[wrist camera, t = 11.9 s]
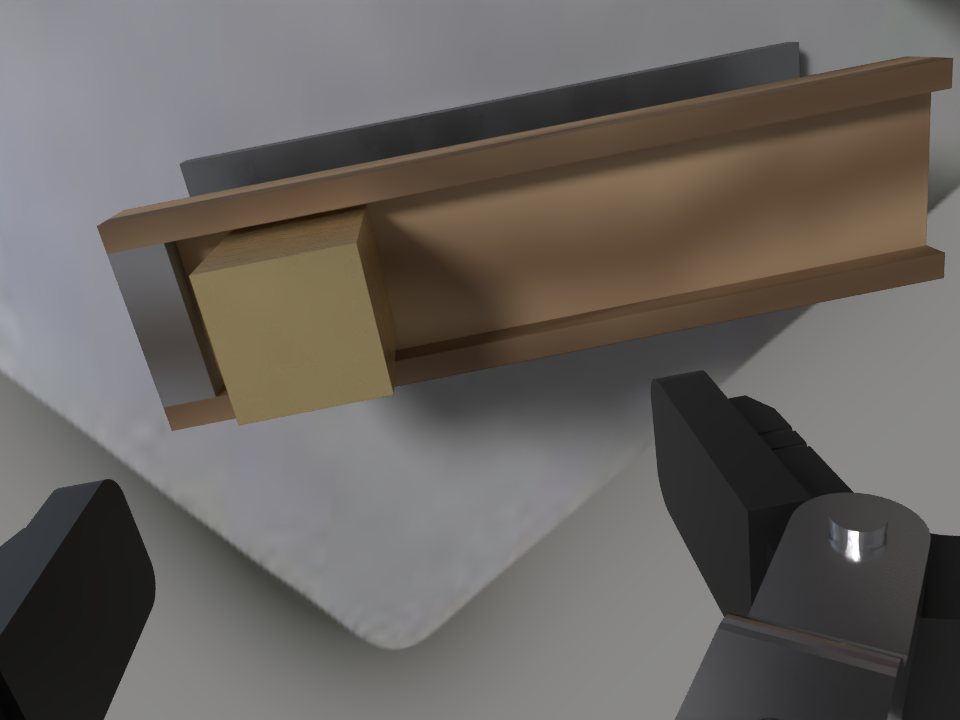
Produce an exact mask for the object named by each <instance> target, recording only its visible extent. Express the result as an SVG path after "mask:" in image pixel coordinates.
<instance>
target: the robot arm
mask: <svg viewBox="0 0 960 720" xmlns="http://www.w3.org/2000/svg"><path fill="white" fill-rule="evenodd" d="M651 401H652V412H653V424H654V435H655V446H656V458H657V469H658V476H659V482H660V487H661V491H662V495H663V498H664V501H665V504H666V507H667V509H668V511H669V514H670V516H671V517H672V519H673V521H674V523H675V525H676V527H677V529H678V531H679V532H680V534H681V536H682V538H683V540H684V542H685V544H686V546H687V548H688V550H689V551H690V553H691V555H692V557H693V559H694V561H695V562H696V565H697V566H698V568H699V570H700V572H701V574H702V576H703V578H704V580H705V582H706V583H707V585H708V587H709V589H710V591H711V593H712V595H713V597H714V598H715V600H716V602H717V604H718V606H719V608H720V610H721V612H722V613H723V616H724V618H723V620H722V621H721V623H720V625H719V627H718V629H717V631H716V633H715V635H714V638H713V639H712V641H711V644H710V646H709V648H708V650H707V652H706V654H705V656H704V659H703V661H702V663H701V665H700V667H699V669H698V671H697V673H696V676H695V678H694V680H693V682H692V684H691V686H690V688H689V691H688V693H687V695H686V697H685V699H684V701H683V703H682V705H681V708H680V710H679V712H678V714H677V716H676V718H675V720H960V536H948V535H938V534H931V533H930V532H929V528H928V527H927V525H926V524H925V522H924V521H923V520H922V519H921V518H920V517H919V516H918V515H917V514H916V513H914V512H913V511H912V510H910V509H909V508H907V507H905V506H903V505H902V504H899V503H897V502H895V501H892V500H889V499H886V498H883V497H879V496H874V495H870V494H862V493H854V492H853V491H852V490H851V489H850V488H849V487H848V486H847V485H846V484H845V483H844V482H843V481H842V480H841V479H840V478H839V477H838V475H837V474H836V473H835V472H834V471H833V470H832V469H831V468H830V467H829V466H828V465H827V464H826V463H825V462H824V461H823V460H822V459H821V458H820V456H819V455H818V454H817V453H816V452H815V451H814V450H813V449H812V448H811V447H810V446H808V447H807V445H806V442H805V441H804V440H803V438H801V436H800V435H799V434H798V433H797V432H796V431H792V427H791V426H790V425H789V424H788V423H787V421H786V420H785V419H784V418H783V417H782V416H781V415H780V414H779V413H778V412H777V411H776V410H775V409H774V408H772V407H770V406H768V405H765V404H763V403H761V402H759V401H756V400H754V399H752V398H750V397H748V396H740V397H734V398H729V399H728V398H727V397H726V396H725V395H724V393H723V392H722V391H721V390H720V389H719V388H718V386H717V385H716V384H715V383H714V382H713V380H712V379H711V378H710V377H709V376H708V375H707V373H706V372H705V371H703V370H701V371H695V372H690V373H685V374H679V375H674V376H668V377H663V378H658V379H653V381H652V384H651ZM155 589H156V588H155V575H154V571H153V566H152V563H151V560H150V558H149V556H148V553H147V551H146V548H145V546H144V543H143V541H142V538H141V536H140V533H139V531H138V528H137V526H136V523H135V521H134V518H133V516H132V514H131V511H130V508H129V506H128V504H127V501H126V499H125V496H124V494H123V492H122V490H121V488H120V487H119V485H118V484H117V483H116V482H115V481H113V480H111V479H106V480H101V481H95V482H90V483H85V484H79V485H74V486H68V487H63V488H58V489H56V490H54V491H53V493H52V494H51V495H50V497H49V498H48V499H47V500H46V502H45V503H44V504H43V506H42V507H41V508H40V510H39V511H38V512H37V514H36V515H35V516H34V518H33V519H32V520H31V522H30V523H29V524H28V525H27V527H26V528H24V529H22V530H21V531H19V532H18V533H17V534H16V535H14V536H13V537H12V538H11V539H9V540H8V541H7V542H5V543H4V544H3V545H2V546H0V720H104V718H105V715H106V713H107V711H108V708H109V706H110V704H111V702H112V699H113V697H114V694H115V692H116V690H117V688H118V685H119V683H120V681H121V678H122V676H123V674H124V672H125V669H126V667H127V665H128V662H129V660H130V658H131V656H132V653H133V651H134V649H135V646H136V644H137V642H138V640H139V637H140V635H141V633H142V630H143V628H144V626H145V623H146V621H147V619H148V617H149V614H150V612H151V610H152V607H153V603H154V600H155Z"/></svg>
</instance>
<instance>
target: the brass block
mask: <svg viewBox="0 0 960 720" xmlns="http://www.w3.org/2000/svg"><path fill="white" fill-rule="evenodd" d="M189 278H190V281H191V284H192V287H193V290H194V293H195V296H196V299H197V302H198V305H199V308H200V311H201V314H202V317H203V320H204V323H205V326H206V329H207V332H208V335H209V338H210V341H211V344H212V347H213V350H214V353H215V356H216V359H217V362H218V365H219V368H220V371H221V374H222V377H223V380H224V383H225V386H226V389H227V392H228V395H229V398H230V401H231V404H232V407H233V410H234V413H235V416H236V419H237V422H238V425H244V424H249V423H254V422H259V421H264V420H269V419H274V418H279V417H284V416H289V415H294V414H299V413H304V412H309V411H314V410H319V409H324V408H329V407H334V406H339V405H344V404H349V403H354V402H359V401H364V400H369V399H374V398H379V397H384V396H389V395H394V376H395V356H396V335H397V330H396V326H395V322H394V318H393V313H392V309H391V305H390V301H389V296H388V292H387V288H386V284H385V280H384V275H383V271H382V267H381V263H380V258H379V254H378V250H377V246H376V241H375V237H374V233H373V229H372V224H371V220H370V216H369V212H368V208H367V204H365V205H360V206H354V207H349V208H344V209H339V210H334V211H329V212H324V213H319V214H314V215H309V216H304V217H299V218H294V219H289V220H284V221H279V222H274V223H269V224H264V225H259V226H253V227H248V228H243V229H238V230H233V231H231V232H230V233H229V234H228V235H227V236H226V237H225V238H224V239H223V240H222V241H221V242H220V243H219V244H218V246H217V247H216V248H215V249H214V250H213V251H212V252H211V253H210V254H209V255H208V256H207V257H206V258H205V259H204V260H203V261H202V263H201V264H200V265H199V266H198V267H197V268H196V269H195V270H194V271H193V272H192V273H191V274H190V275H189Z"/></svg>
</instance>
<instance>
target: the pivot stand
mask: <svg viewBox="0 0 960 720" xmlns="http://www.w3.org/2000/svg"><path fill="white" fill-rule="evenodd" d="M795 78H800V64H799V42H786V43H781V44H776V45H770V46H765V47H760V48H755V49H750V50H745V51H740V52H735V53H730V54H725V55H720V56H715V57H709V58H704V59H699V60H694V61H689V62H684V63H679V64H674V65H669V66H664V67H659V68H654V69H649V70H643V71H638V72H633V73H628V74H623V75H618V76H613V77H608V78H603V79H598V80H593V81H588V82H582V83H577V84H572V85H567V86H562V87H557V88H552V89H547V90H542V91H537V92H532V93H527V94H521V95H516V96H511V97H506V98H501V99H496V100H491V101H486V102H481V103H476V104H471V105H466V106H461V107H455V108H450V109H445V110H440V111H435V112H430V113H425V114H420V115H415V116H410V117H405V118H400V119H394V120H389V121H384V122H379V123H374V124H369V125H364V126H359V127H354V128H349V129H344V130H339V131H334V132H328V133H323V134H318V135H313V136H308V137H303V138H298V139H293V140H288V141H283V142H278V143H273V144H267V145H262V146H257V147H252V148H247V149H242V150H237V151H232V152H227V153H222V154H217V155H212V156H206V157H201V158H196V159H191V160H186V161H184V162H182V163H181V164H180V167H181V170H182V173H183V176H184V180H185V183H186V186H187V189H188V192H189V195H190V197H194V196H199V195H204V194H209V193H214V192H219V191H224V190H229V189H234V188H240V187H245V186H250V185H255V184H260V183H265V182H270V181H275V180H280V179H285V178H290V177H296V176H301V175H306V174H311V173H316V172H321V171H326V170H331V169H336V168H341V167H346V166H352V165H357V164H362V163H367V162H372V161H377V160H382V159H387V158H392V157H397V156H402V155H408V154H413V153H418V152H423V151H428V150H433V149H438V148H443V147H448V146H453V145H458V144H464V143H469V142H474V141H479V140H484V139H489V138H494V137H499V136H504V135H509V134H514V133H520V132H525V131H530V130H535V129H540V128H545V127H550V126H555V125H560V124H565V123H570V122H576V121H581V120H586V119H591V118H596V117H601V116H606V115H611V114H616V113H621V112H626V111H632V110H637V109H642V108H647V107H652V106H657V105H662V104H667V103H672V102H677V101H682V100H688V99H693V98H698V97H703V96H708V95H713V94H718V93H723V92H728V91H733V90H739V89H744V88H749V87H754V86H759V85H764V84H769V83H774V82H779V81H784V80H789V79H795Z"/></svg>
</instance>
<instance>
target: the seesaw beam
mask: <svg viewBox="0 0 960 720" xmlns="http://www.w3.org/2000/svg"><path fill="white" fill-rule="evenodd" d="M952 69H953V58H937V57H908V56H907V57H901V58H896V59H891V60H886V61H881V62H876V63H871V64H866V65H861V66H856V67H851V68H845V69H840V70H835V71H830V72H825V73H820V74H815V75H810V76H805V77H800V78H795V79H789V80H784V81H779V82H774V83H769V84H764V85H759V86H754V87H749V88H744V89H739V90H733V91H728V92H723V93H718V94H713V95H708V96H703V97H698V98H693V99H688V100H682V101H677V102H672V103H667V104H662V105H657V106H652V107H647V108H642V109H637V110H632V111H626V112H621V113H616V114H611V115H606V116H601V117H596V118H591V119H586V120H581V121H576V122H570V123H565V124H560V125H555V126H550V127H545V128H540V129H535V130H530V131H525V132H520V133H514V134H509V135H504V136H499V137H494V138H489V139H484V140H479V141H474V142H469V143H464V144H458V145H453V146H448V147H443V148H438V149H433V150H428V151H423V152H418V153H413V154H408V155H402V156H397V157H392V158H387V159H382V160H377V161H372V162H367V163H362V164H357V165H352V166H346V167H341V168H336V169H331V170H326V171H321V172H316V173H311V174H306V175H301V176H296V177H290V178H285V179H280V180H275V181H270V182H265V183H260V184H255V185H250V186H245V187H240V188H234V189H229V190H224V191H219V192H214V193H209V194H204V195H199V196H194V197H189V198H184V199H178V200H173V201H168V202H163V203H158V204H153V205H148V206H143V207H138V208H133V209H128V210H123V211H122V212H120V213H118V214H117V215H115V216H113V217H112V218H110V219H108V220H107V221H105V222H103V223H102V224H100V225H98V226H97V228H98V231H99V233H100V236H101V239H102V242H103V244H104V247H105V250H106V252H107V255H108V258H109V261H110V263H111V266H112V269H113V271H114V274H115V277H116V280H117V282H118V285H119V288H120V290H121V293H122V296H123V299H124V301H125V304H126V307H127V310H128V312H129V315H130V318H131V320H132V323H133V326H134V329H135V331H136V334H137V337H138V339H139V342H140V345H141V348H142V350H143V353H144V356H145V359H146V361H147V364H148V367H149V369H150V372H151V375H152V378H153V380H154V383H155V386H156V388H157V391H158V394H159V397H160V399H161V402H162V405H163V407H164V410H165V413H166V416H167V418H168V421H169V424H170V427H171V429H172V431H174V430H179V429H184V428H189V427H194V426H199V425H204V424H209V423H214V422H219V421H224V420H230V419H235V418H236V416H235V413H234V410H233V407H232V404H231V401H230V398H229V395H228V392H227V389H226V386H225V383H224V380H223V377H222V374H221V371H220V368H219V365H218V362H217V359H216V356H215V353H214V350H213V347H212V344H211V341H210V338H209V335H208V332H207V329H206V326H205V323H204V320H203V317H202V314H201V311H200V308H199V305H198V302H197V299H196V296H195V293H194V290H193V287H192V284H191V281H190V278H189V275H190V274H191V273H192V272H193V271H194V270H195V269H196V268H197V267H198V266H199V265H200V264H201V263H202V261H203V260H204V259H205V258H206V257H207V256H208V255H209V254H210V253H211V252H212V251H213V250H214V249H215V248H216V247H217V246H218V244H219V243H220V242H221V241H222V240H223V239H224V238H225V237H226V236H227V235H228V234H229V233H230V232H231V231H233V230H238V229H243V228H248V227H253V226H259V225H264V224H269V223H274V222H279V221H284V220H289V219H294V218H299V217H304V216H309V215H314V214H319V213H324V212H329V211H334V210H339V209H344V208H349V207H354V206H360V205H365V204H367V208H368V212H369V216H370V220H371V224H372V229H373V233H374V237H375V241H376V246H377V250H378V254H379V258H380V263H381V267H382V271H383V275H384V280H385V284H386V288H387V292H388V296H389V301H390V305H391V309H392V313H393V318H394V322H395V326H396V330H397V335H396V356H395V376H394V387H396V386H401V385H406V384H411V383H416V382H421V381H426V380H431V379H436V378H441V377H446V376H451V375H456V374H461V373H467V372H472V371H477V370H482V369H487V368H492V367H497V366H502V365H507V364H512V363H517V362H522V361H527V360H532V359H537V358H542V357H547V356H552V355H557V354H562V353H567V352H572V351H577V350H583V349H588V348H593V347H598V346H603V345H608V344H613V343H618V342H623V341H628V340H633V339H638V338H643V337H648V336H653V335H658V334H663V333H668V332H673V331H678V330H683V329H688V328H693V327H699V326H704V325H709V324H714V323H719V322H724V321H729V320H734V319H739V318H744V317H749V316H754V315H759V314H764V313H769V312H774V311H779V310H784V309H789V308H794V307H799V306H804V305H809V304H815V303H819V302H825V301H830V300H835V299H840V298H844V297H849V296H855V295H860V294H865V293H869V292H875V291H880V290H885V289H890V288H895V287H900V286H905V285H910V284H915V283H920V282H925V281H930V280H936V279H941V278H944V261H945V253H944V252H942V251H939V250H936V249H934V248H932V247H929V246H926V231H927V230H926V229H927V200H928V169H929V138H930V107H931V92H934V91H940V90H945V89H950V88H952Z"/></svg>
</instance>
